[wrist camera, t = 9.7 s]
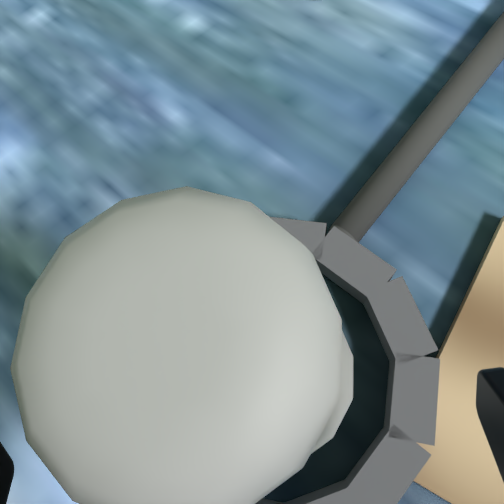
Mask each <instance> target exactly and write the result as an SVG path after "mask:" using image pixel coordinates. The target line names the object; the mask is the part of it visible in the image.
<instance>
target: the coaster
mask: <svg viewBox="0 0 504 504" xmlns="http://www.w3.org/2000/svg"><path fill="white" fill-rule="evenodd" d="M436 358H438V359H440V371H439V386H438V402H437V417H436V433H435V446H433V445H427V444H422V443H417V442H416V443H417V444H419V445H420V446H421V447H422V448H424V449H425V450H426V451H427V452H429V453H430V454H431V457H430V458H429V459H428V461H427V462H426V464H425V465H424V466H423V468H422V469H421V471H420V472H419V473H418V475H417V476H416V478H415V479H414V480H413V481H415V482H416V483H418V484H420V485H421V486H423V487H425V488H426V489H428V490H430V491H432V492H433V493H435V494H437V495H438V496H440V497H442V498H443V499H445V500H447V501H448V502H450V503H452V504H504V482H503V480H502V477H501V475H500V472H499V469H498V467H497V464H496V461H495V459H494V456H493V454H492V451H491V448H490V446H489V443H488V441H487V438H486V435H485V433H484V430H483V428H482V425H481V422H480V420H479V417H478V414H477V410H476V386H477V374H478V372H479V371H480V370H482V369H489V368H497V367H503V368H504V216H503V217H502V218H501V220H500V223H499V225H498V227H497V229H496V231H495V233H494V235H493V237H492V239H491V242H490V244H489V246H488V248H487V250H486V252H485V254H484V256H483V259H482V261H481V263H480V265H479V267H478V269H477V271H476V273H475V276H474V278H473V280H472V282H471V284H470V286H469V288H468V290H467V293H466V295H465V297H464V299H463V301H462V303H461V305H460V307H459V309H458V312H457V314H456V316H455V318H454V320H453V322H452V324H451V326H450V329H449V331H448V333H447V335H446V337H445V339H444V341H443V343H442V346H441V348H440V350H439V352H438V354H437V356H436Z"/></svg>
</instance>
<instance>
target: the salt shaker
mask: <svg viewBox="0 0 504 504" xmlns="http://www.w3.org/2000/svg"><path fill="white" fill-rule="evenodd" d="M10 369H11V374H12V378H13V383H14V387H15V392H16V396H17V401H18V405H19V410H20V414H21V419H22V423H23V428H24V432H25V437H26V441H27V442H28V444H29V445H30V446H31V447H32V449H33V450H34V451H35V453H36V454H37V455H38V457H39V458H40V459H41V460H42V462H43V463H44V464H45V466H46V467H47V468H48V470H49V471H50V472H51V473H52V475H53V476H54V477H55V479H56V480H57V481H58V483H59V484H60V485H61V486H62V488H63V489H64V490H65V492H66V493H67V494H68V496H69V497H70V498H71V499H72V501H74V502H77V503H79V504H255V503H257V502H258V501H259V500H261V499H262V498H263V497H265V496H266V495H267V494H269V493H270V492H271V491H273V490H274V489H275V488H277V487H278V486H279V485H281V484H282V483H283V482H285V481H286V480H287V479H289V478H290V477H291V476H293V475H294V474H295V473H297V472H298V471H300V470H301V469H302V468H303V467H304V465H305V463H306V461H307V460H308V458H309V456H310V454H312V453H313V452H314V451H316V450H317V449H318V448H320V447H321V446H323V445H324V444H325V443H327V442H328V441H329V440H331V439H332V438H333V437H334V435H335V433H336V431H337V429H338V427H339V425H340V423H341V421H342V419H343V417H344V415H345V414H346V412H347V410H348V408H349V406H350V404H351V402H352V400H353V355H352V352H351V350H350V348H349V345H348V343H347V341H346V338H345V336H344V334H343V332H342V319H341V317H340V315H339V312H338V310H337V308H336V306H335V303H334V301H333V299H332V297H331V294H330V292H329V290H328V287H327V285H326V283H325V281H324V278H323V276H322V274H321V271H320V269H319V267H318V265H317V262H316V260H315V258H314V255H313V254H312V253H311V252H310V251H309V250H308V249H307V247H306V246H305V245H303V244H302V243H301V242H300V241H298V240H297V239H296V238H295V237H293V236H292V235H291V234H290V233H288V232H287V231H286V230H285V229H283V228H282V227H281V226H280V225H278V224H277V223H276V222H275V221H273V220H272V219H271V218H270V217H269V216H267V215H266V214H265V213H264V212H262V211H261V210H260V209H259V208H257V207H256V206H255V205H254V204H252V203H251V202H247V201H243V200H239V199H235V198H231V197H227V196H223V195H219V194H215V193H211V192H207V191H203V190H199V189H195V188H191V187H187V186H186V187H181V188H176V189H172V190H167V191H162V192H157V193H153V194H148V195H143V196H138V197H134V198H129V199H124V200H121V201H119V202H118V203H116V204H115V205H113V206H112V207H110V208H109V209H107V210H106V211H104V212H103V213H101V214H100V215H98V216H97V217H95V218H94V219H92V220H91V221H89V222H88V223H86V224H85V225H83V226H82V227H80V228H79V229H77V230H76V231H74V232H73V233H71V234H70V235H68V236H67V237H65V238H64V240H63V241H62V243H61V244H60V246H59V247H58V249H57V251H56V252H55V254H54V255H53V257H52V258H51V260H50V261H49V263H48V264H47V266H46V267H45V269H44V270H43V272H42V273H41V275H40V276H39V278H38V279H37V281H36V283H35V284H34V286H33V287H32V289H31V290H30V292H29V293H28V295H27V296H26V299H25V304H24V308H23V313H22V317H21V322H20V327H19V331H18V336H17V340H16V345H15V349H14V354H13V358H12V363H11V368H10Z"/></svg>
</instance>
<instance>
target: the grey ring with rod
mask: <svg viewBox="0 0 504 504" xmlns="http://www.w3.org/2000/svg"><path fill="white" fill-rule="evenodd" d="M503 59H504V12H503V13H502V14H501V16H500V17H499V18H498V19H497V21H496V22H495V23H494V24H493V26H492V27H491V28H490V29H489V31H488V32H487V33H486V34H485V36H484V37H483V38H482V39H481V41H480V42H479V43H478V44H477V46H476V47H475V48H474V49H473V50H472V52H471V53H470V54H469V55H468V57H467V58H466V59H465V60H464V62H463V63H462V64H461V65H460V67H459V68H458V69H457V70H456V72H455V73H454V74H453V75H452V77H451V78H450V79H449V80H448V81H447V83H446V84H445V85H444V86H443V88H442V89H441V90H440V91H439V93H438V94H437V95H436V96H435V98H434V99H433V100H432V101H431V103H430V104H429V105H428V106H427V108H426V109H425V110H424V111H423V113H422V114H421V115H420V116H419V117H418V119H417V120H416V121H415V122H414V124H413V125H412V126H411V127H410V129H409V130H408V131H407V132H406V134H405V135H404V136H403V137H402V139H401V140H400V141H399V142H398V144H397V145H396V146H395V147H394V148H393V150H392V151H391V152H390V153H389V155H388V156H387V157H386V158H385V160H384V161H383V162H382V163H381V165H380V166H379V167H378V168H377V170H376V171H375V172H374V173H373V175H372V176H371V177H370V178H369V180H368V181H367V182H366V183H365V184H364V186H363V187H362V188H361V189H360V191H359V192H358V193H357V194H356V196H355V197H354V198H353V199H352V201H351V202H350V203H349V204H348V206H347V207H346V208H345V209H344V211H343V212H342V213H341V214H340V215H339V217H338V218H337V219H336V220H335V222H334V223H333V224H332V225H331V227H330V229H329V232H328V234H327V235H326V223H320V222H311V221H302V220H293V219H284V218H275V217H270V218H271V219H272V220H273V221H275V222H276V223H277V224H278V225H280V226H281V227H282V228H283V229H285V230H286V231H287V232H288V233H290V234H291V235H292V236H293V237H295V238H296V239H297V240H298V241H300V242H301V243H302V244H303V245H305V246H306V247H307V249H308V250H309V251H310V252H311V253H312V254H313V255H314V258H315V260H316V262H317V265H318V267H319V269H320V271H321V273H322V274H323V275H325V276H326V277H327V278H329V279H330V280H331V281H333V282H334V283H336V284H337V285H338V286H340V287H341V288H342V289H344V290H345V291H346V292H348V293H349V294H350V295H352V296H353V297H354V298H356V299H357V300H359V301H360V302H361V303H363V304H364V306H365V308H366V311H367V313H368V315H369V317H370V319H371V322H372V324H373V326H374V328H375V331H376V333H377V335H378V337H379V339H380V342H381V344H382V346H383V348H384V350H385V353H386V355H387V357H388V359H389V361H390V362H389V373H388V384H387V395H386V406H385V417H384V427H383V428H382V430H381V431H380V432H379V434H378V435H377V436H376V438H375V439H374V440H373V442H372V443H371V445H370V446H369V447H368V449H367V450H366V451H365V453H364V454H363V455H362V457H361V458H360V460H359V461H358V462H357V464H356V465H355V466H354V468H353V469H352V470H351V472H350V473H349V475H348V476H347V477H346V479H345V480H342V481H340V482H337V483H335V484H332V485H329V486H327V487H324V488H321V489H319V490H316V491H314V492H311V493H308V494H306V495H303V496H300V497H298V498H295V499H293V500H290V501H287V502H285V503H282V502H278V501H273V500H269V499H264V498H262V499H261V500H259V501H258V502H257V503H255V504H397V503H398V502H399V500H400V499H401V497H402V496H403V495H404V493H405V492H406V490H407V489H408V488H409V486H410V485H411V483H412V482H413V480H414V479H415V478H416V476H417V475H418V473H419V472H420V471H421V469H422V468H423V466H424V465H425V464H426V462H427V461H428V459H429V458H430V457H431V454H430V453H429V452H427V451H426V450H425V449H424V448H422V447H421V446H420V445H419V444H417V443H422V444H427V445H433V446H435V433H436V417H437V402H438V386H439V371H440V359H438V358H432V357H425V356H424V355H427V354H430V353H432V352H435V351H437V350H438V348H437V346H436V344H435V342H434V340H433V338H432V336H431V334H430V332H429V330H428V328H427V326H426V324H425V322H424V320H423V317H422V315H421V313H420V311H419V309H418V307H417V305H416V303H415V301H414V299H413V297H412V295H411V293H410V291H409V289H408V287H407V285H406V283H405V281H404V279H403V277H402V276H401V277H399V278H396V279H394V280H391V278H392V276H393V275H394V273H395V272H396V269H395V268H394V267H392V266H391V265H389V264H388V263H386V262H385V261H384V260H382V259H381V258H379V257H378V256H376V255H375V254H374V253H372V252H371V251H369V250H368V249H366V248H365V247H364V246H362V245H361V244H359V243H358V242H359V241H360V240H361V239H362V237H363V236H364V235H365V233H366V232H367V231H368V230H369V228H370V227H371V226H372V225H373V223H374V222H375V221H376V220H377V218H378V217H379V216H380V215H381V213H382V212H383V211H384V209H385V208H386V207H387V206H388V204H389V203H390V202H391V201H392V199H393V198H394V197H395V196H396V194H397V193H398V192H399V191H400V189H401V188H402V187H403V185H404V184H405V183H406V182H407V180H408V179H409V178H410V177H411V175H412V174H413V173H414V172H415V170H416V169H417V168H418V166H419V165H420V164H421V163H422V161H423V160H424V159H425V158H426V156H427V155H428V154H429V153H430V151H431V150H432V149H433V148H434V146H435V145H436V144H437V142H438V141H439V140H440V139H441V137H442V136H443V135H444V134H445V132H446V131H447V130H448V129H449V127H450V126H451V125H452V124H453V122H454V121H455V120H456V118H457V117H458V116H459V115H460V113H461V112H462V111H463V110H464V108H465V107H466V106H467V105H468V103H469V102H470V101H471V100H472V98H473V97H474V96H475V94H476V93H477V92H478V91H479V89H480V88H481V87H482V86H483V84H484V83H485V82H486V81H487V79H488V78H489V77H490V76H491V74H492V73H493V72H494V70H495V69H496V68H497V67H498V65H499V64H500V63H501V62H502V60H503ZM390 280H391V281H390ZM416 442H417V443H416Z"/></svg>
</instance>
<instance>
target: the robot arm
mask: <svg viewBox="0 0 504 504" xmlns="http://www.w3.org/2000/svg"><path fill="white" fill-rule="evenodd" d="M476 410H477V414H478V417H479V420H480V422H481V425H482V428H483V430H484V433H485V435H486V438H487V441H488V443H489V446H490V448H491V451H492V454H493V456H494V459H495V461H496V464H497V467H498V469H499V472H500V475H501V477H502V480H503V482H504V368H503V367H497V368H489V369H482V370H480V371H479V372H478V374H477V386H476ZM13 475H14V464H13V461H12V459H11V458H10V456H9V454H8V453H7V451H6V450H5V448H4V447H3V445H2V444H1V442H0V504H6V502H7V498H8V494H9V491H10V487H11V483H12V479H13Z"/></svg>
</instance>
